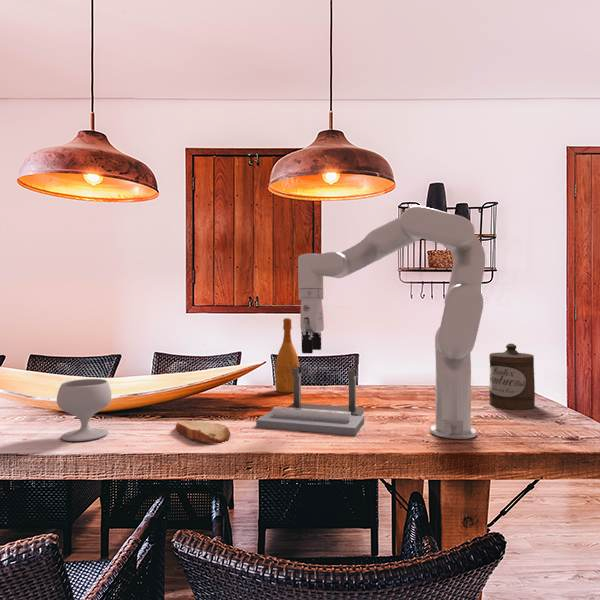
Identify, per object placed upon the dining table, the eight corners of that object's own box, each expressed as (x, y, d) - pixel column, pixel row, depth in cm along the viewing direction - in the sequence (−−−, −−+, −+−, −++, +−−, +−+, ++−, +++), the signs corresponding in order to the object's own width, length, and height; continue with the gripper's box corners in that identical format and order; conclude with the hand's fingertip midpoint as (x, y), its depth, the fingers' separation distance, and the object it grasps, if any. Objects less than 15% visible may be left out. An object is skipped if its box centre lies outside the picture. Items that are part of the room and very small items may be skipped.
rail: (349, 422, 143) (349, 413, 143) (272, 416, 150) (272, 408, 150) (351, 420, 145) (351, 411, 145) (275, 414, 152) (275, 406, 152)
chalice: (52, 434, 137) (51, 381, 137) (103, 426, 146) (103, 376, 146) (63, 447, 126) (62, 389, 126) (118, 437, 135) (118, 383, 135)
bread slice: (177, 427, 146) (177, 415, 146) (237, 427, 146) (237, 415, 146) (158, 445, 128) (158, 431, 128) (226, 446, 128) (226, 431, 128)
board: (355, 435, 136) (355, 428, 136) (256, 426, 145) (256, 420, 145) (364, 422, 150) (364, 416, 150) (272, 415, 159) (272, 409, 159)
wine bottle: (303, 390, 202) (303, 318, 202) (291, 394, 194) (291, 319, 194) (283, 388, 207) (283, 317, 207) (270, 392, 199) (270, 318, 199)
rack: (358, 419, 154) (358, 372, 154) (284, 413, 162) (283, 369, 162) (364, 412, 164) (364, 368, 164) (293, 407, 171) (293, 365, 171)
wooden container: (481, 404, 175) (481, 343, 175) (501, 399, 184) (501, 341, 184) (523, 412, 164) (523, 346, 163) (541, 405, 173) (541, 343, 173)
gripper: (315, 294, 138) (316, 355, 138) (329, 294, 154) (330, 348, 154) (290, 295, 140) (291, 354, 140) (307, 295, 157) (308, 348, 157)
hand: (311, 351), depth 147 cm, fingers open, 9 cm apart
